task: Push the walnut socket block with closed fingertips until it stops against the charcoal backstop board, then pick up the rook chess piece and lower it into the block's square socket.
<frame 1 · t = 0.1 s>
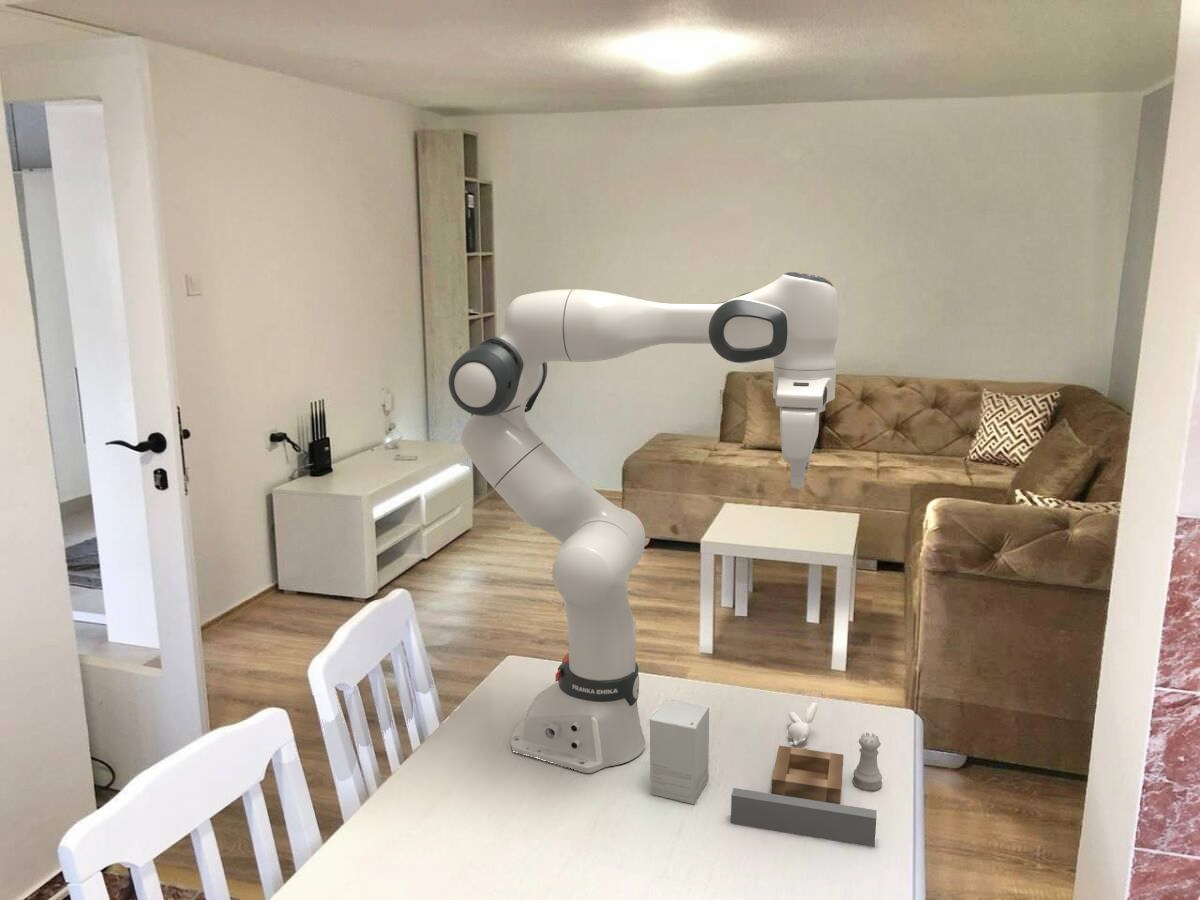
hand: (800, 479, 137), 48 cm above the table, fingers open, 8 cm apart
supplement box: (679, 788, 144), on the table
backstop board: (801, 831, 133), on the table
socket block: (808, 776, 142), point 2 cm above the table, slide at 0.0 cm
rabbit figurine: (800, 737, 158), on the table
rook chess piece: (867, 785, 144), on the table
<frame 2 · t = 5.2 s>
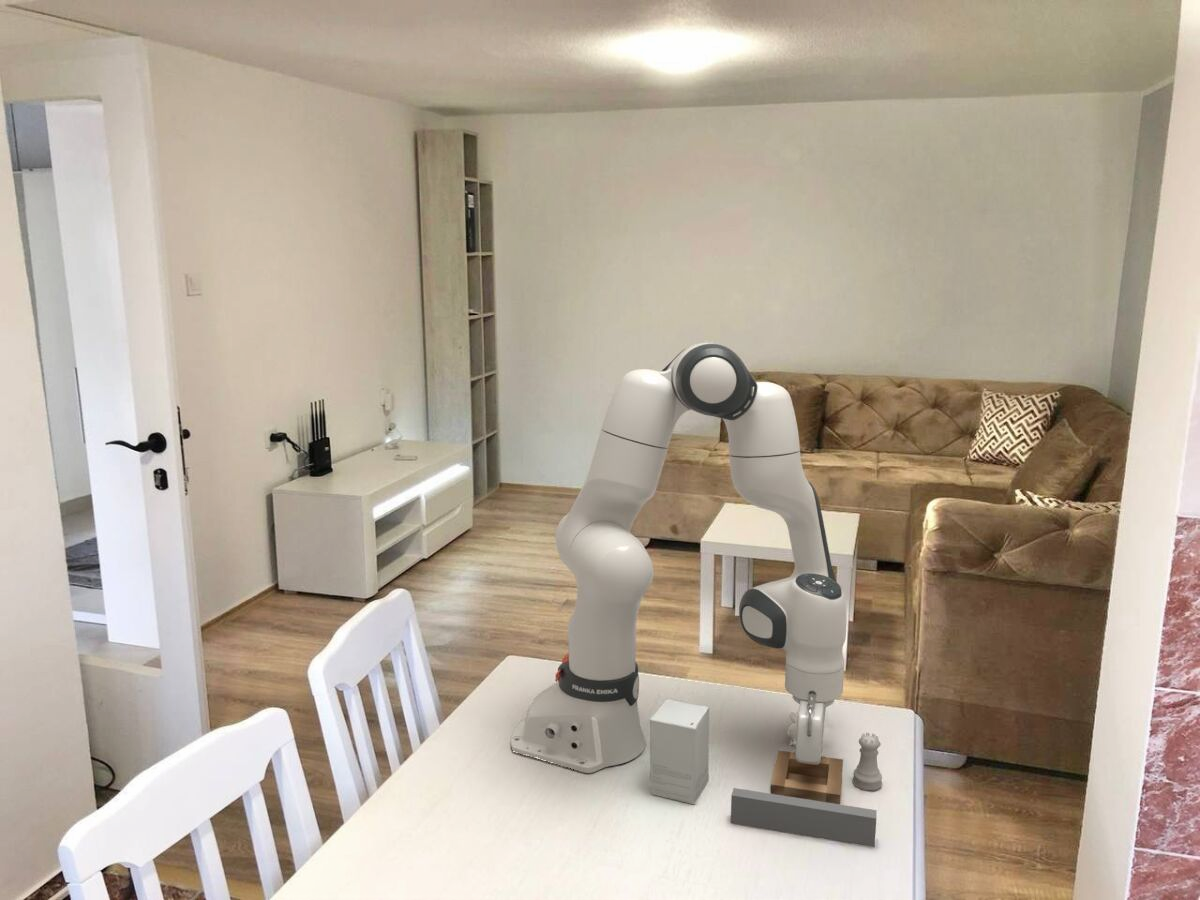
hand: (810, 759, 147), 2 cm above the table, fingers closed
socket block: (807, 782, 141), point 2 cm above the table, slide at 1.5 cm, touching gripper
everything else where it was.
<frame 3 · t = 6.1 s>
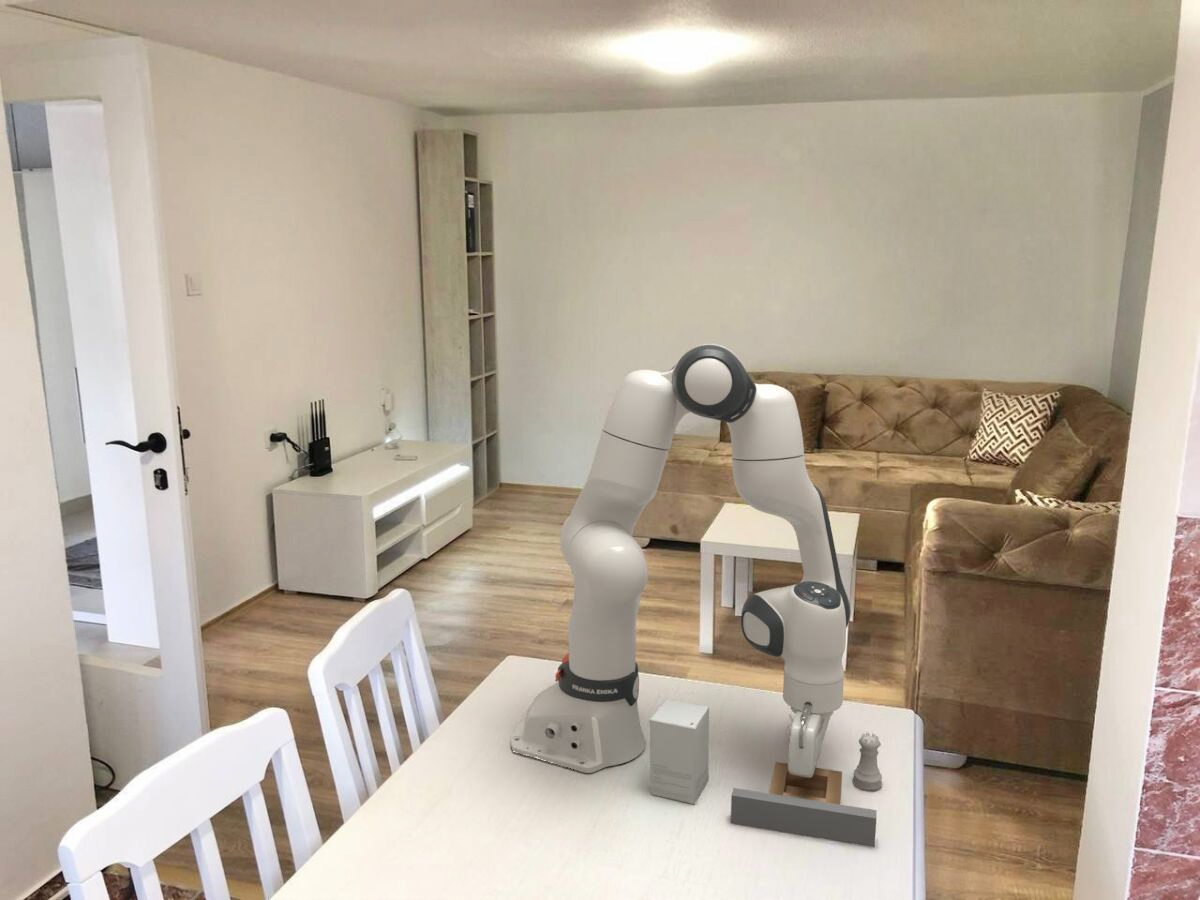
hand: (809, 772, 144), 2 cm above the table, fingers closed
socket block: (805, 794, 138), point 2 cm above the table, slide at 5.0 cm, touching backstop board, gripper
everything else where it was.
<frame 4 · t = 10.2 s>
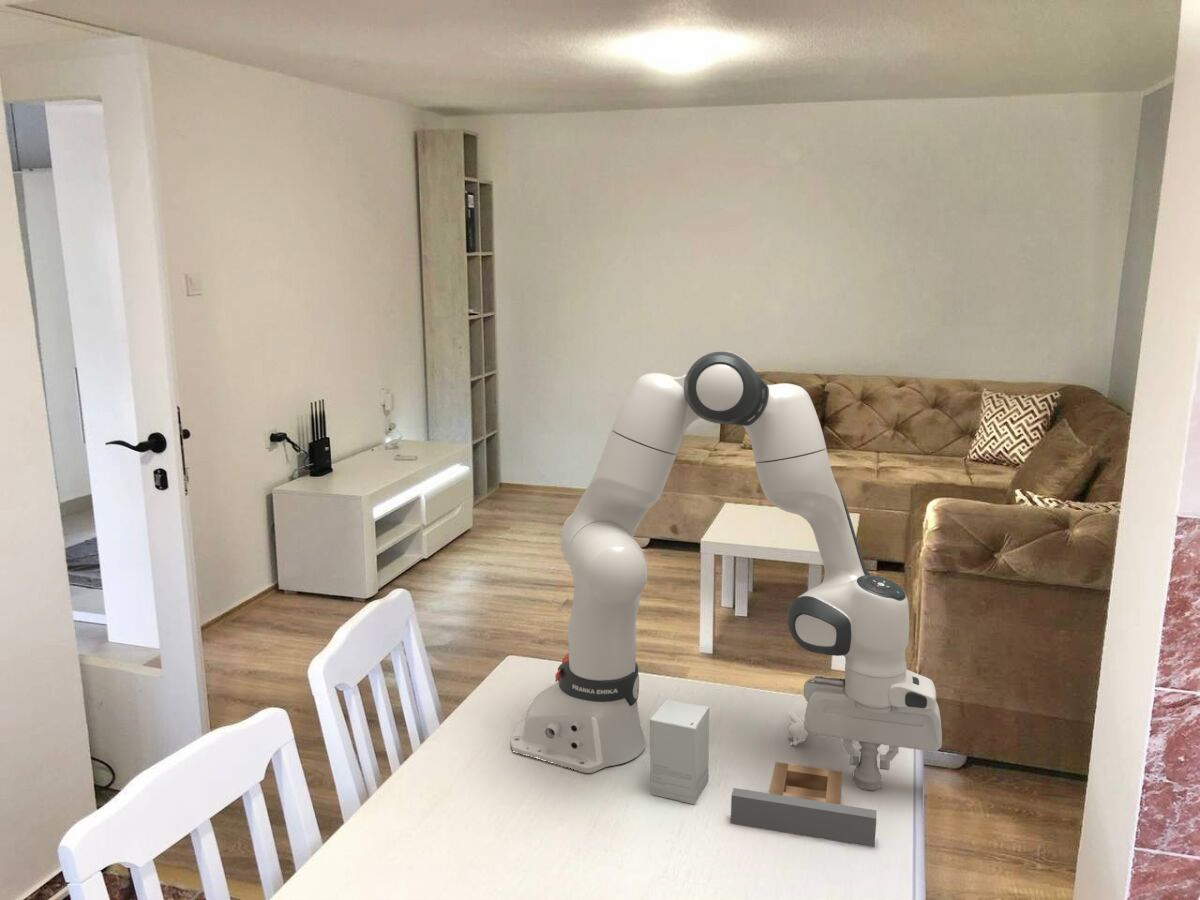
hand: (869, 765, 144), 3 cm above the table, fingers open, 3 cm apart
socket block: (805, 794, 138), point 2 cm above the table, slide at 5.0 cm, touching backstop board
rook chess piece: (867, 785, 144), on the table, touching gripper
everything else where it was.
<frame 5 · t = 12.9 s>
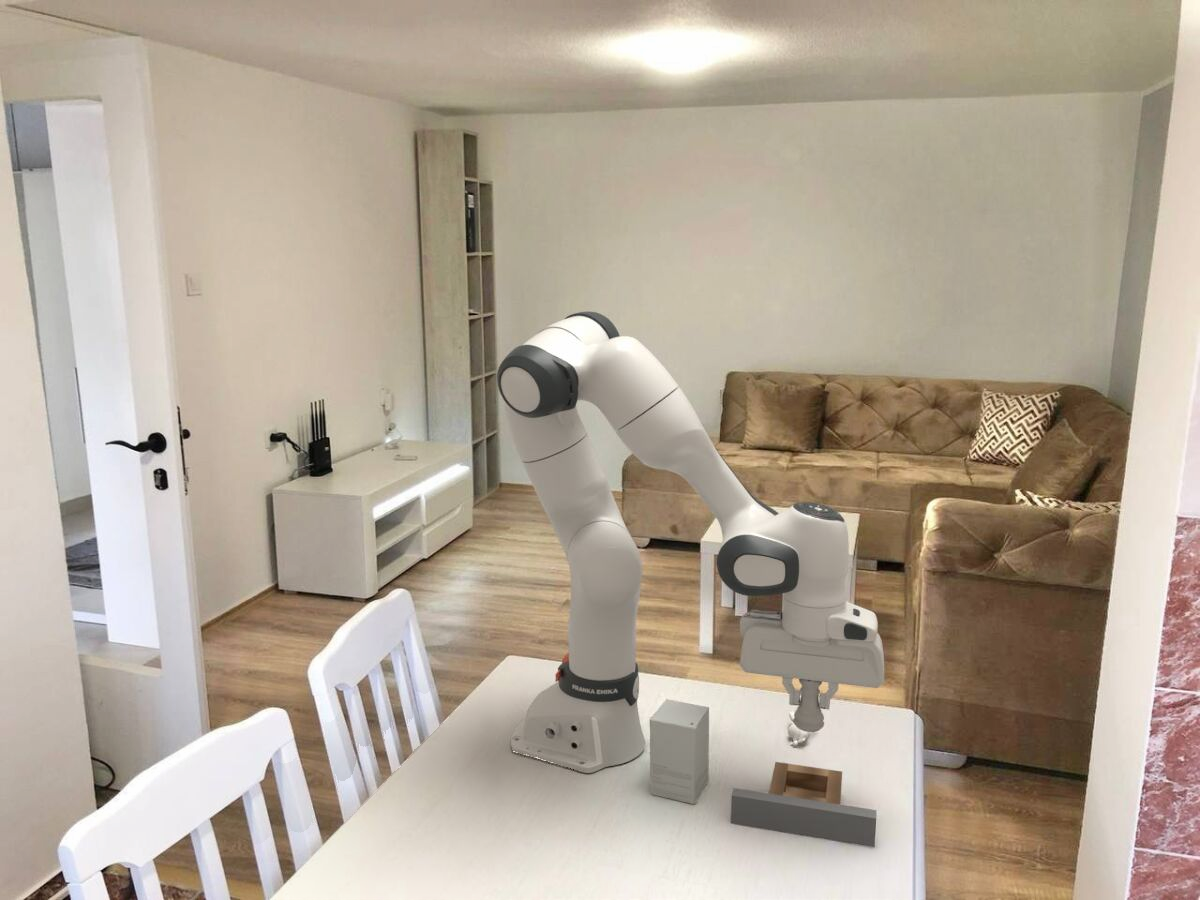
hand: (809, 705, 135), 16 cm above the table, fingers closed on rook chess piece, 3 cm apart
rook chess piece: (808, 726, 136), point 13 cm above the table, touching gripper
everything else where it was.
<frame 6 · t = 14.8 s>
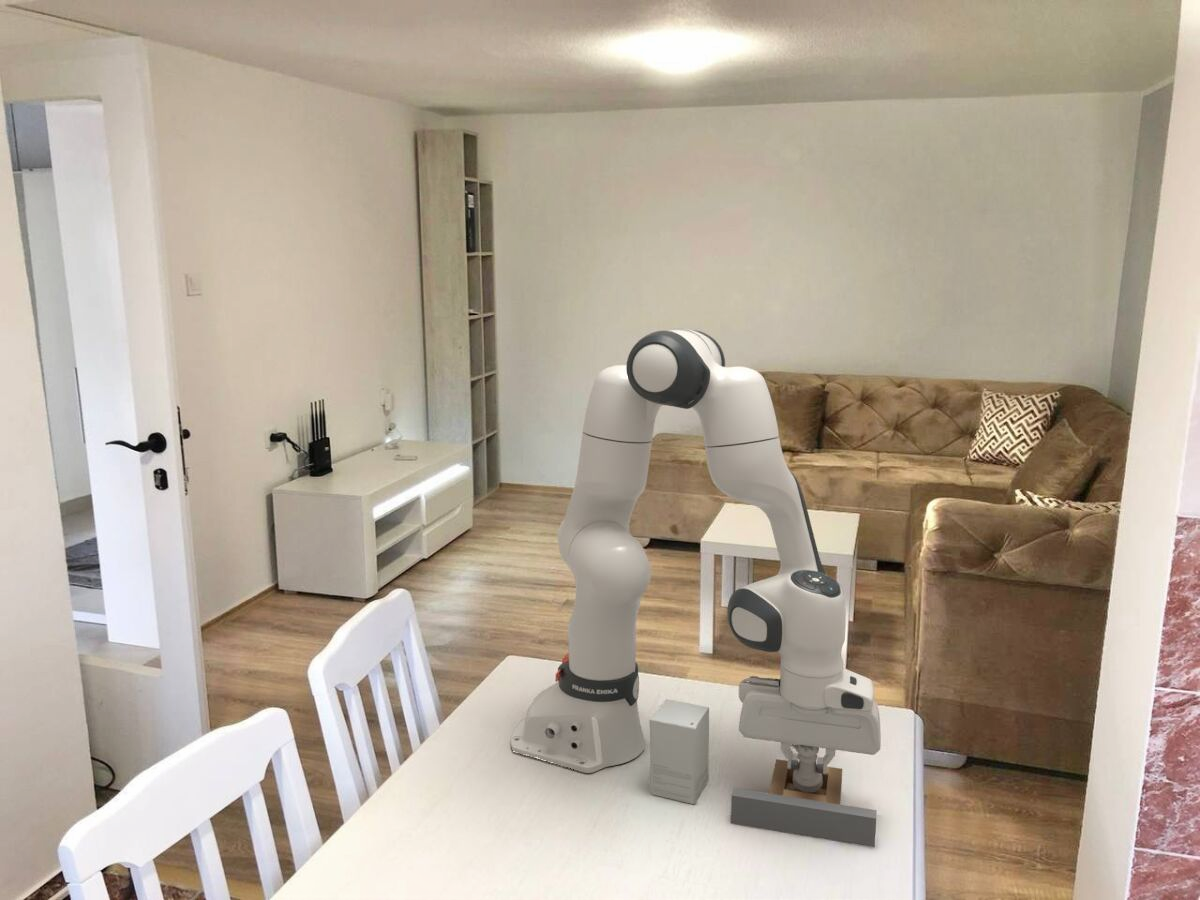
hand: (807, 769, 137), 6 cm above the table, fingers closed on rook chess piece, 3 cm apart
socket block: (805, 791, 139), point 2 cm above the table, slide at 4.2 cm
rook chess piece: (807, 783, 139), point 3 cm above the table, touching gripper
everything else where it was.
when the fingers open (6 cm above the table, at t = 14.9 s): rook chess piece drops 2 cm, resting on socket block.
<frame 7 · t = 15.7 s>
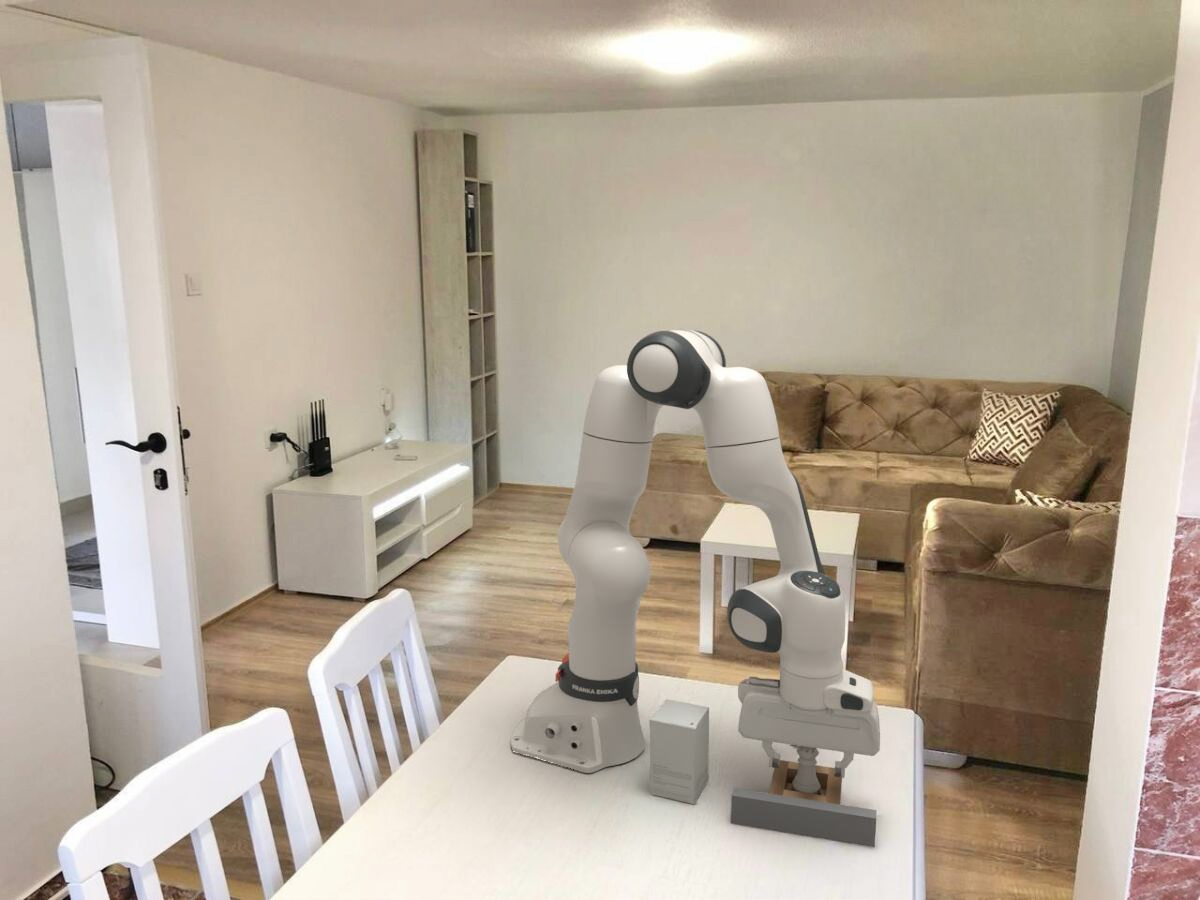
hand: (806, 770, 137), 6 cm above the table, fingers open, 8 cm apart
socket block: (805, 792, 138), point 2 cm above the table, slide at 4.3 cm, touching rook chess piece
rook chess piece: (805, 795, 139), point 1 cm above the table, touching socket block
everything else where it was.
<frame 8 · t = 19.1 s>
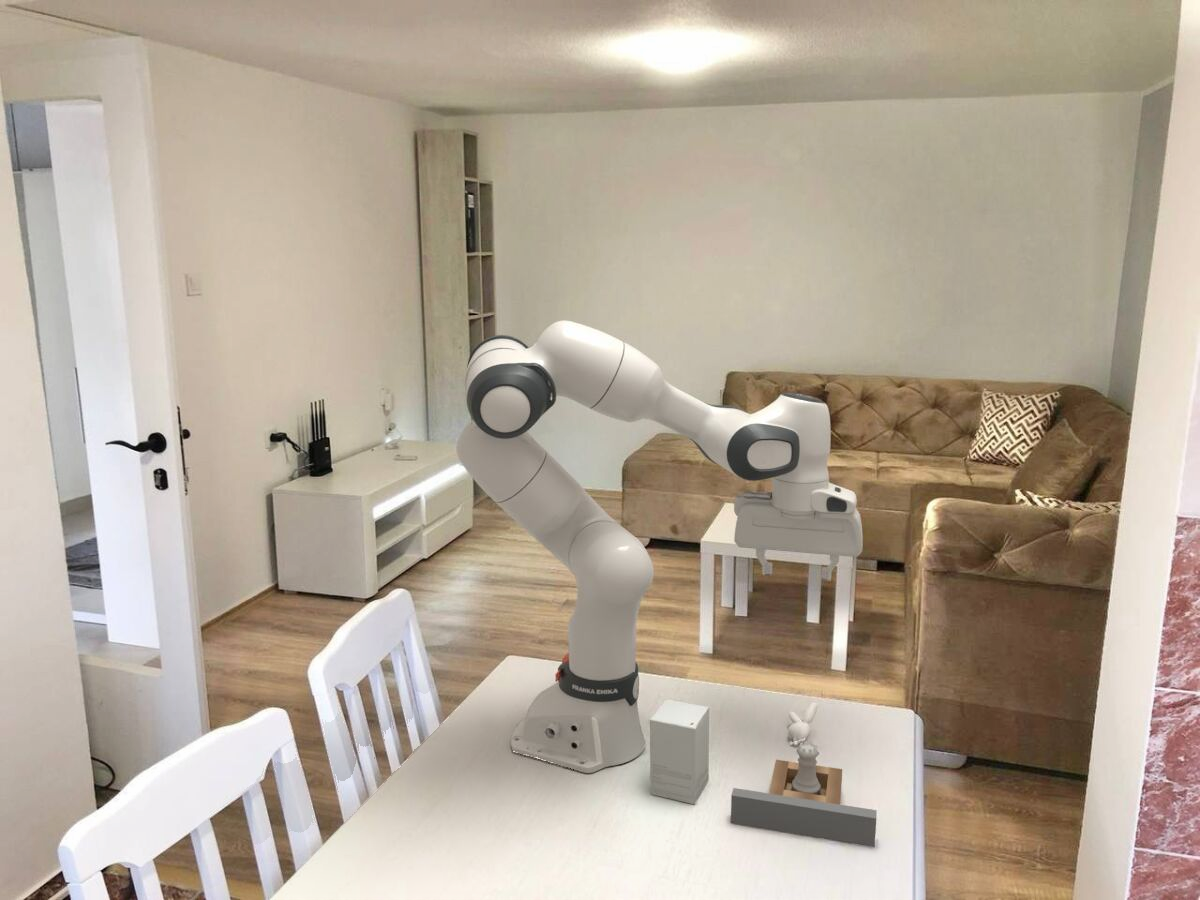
hand: (796, 576, 151), 29 cm above the table, fingers open, 8 cm apart
nothing on the table moved.
at the end: socket block slide at 4.3 cm; rook chess piece 0.6 cm off-centre on the socket block, point 1.1 cm above the socket block's base; rook chess piece tilted 0° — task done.
